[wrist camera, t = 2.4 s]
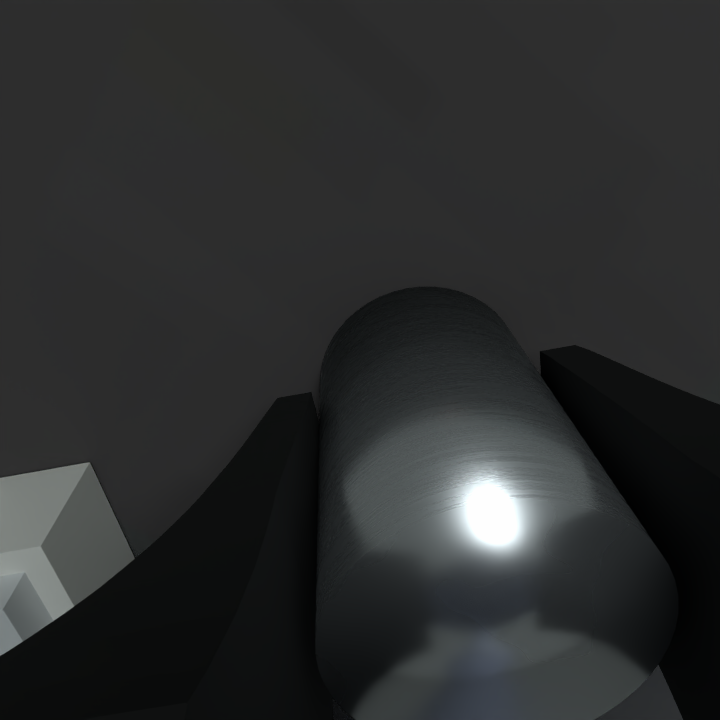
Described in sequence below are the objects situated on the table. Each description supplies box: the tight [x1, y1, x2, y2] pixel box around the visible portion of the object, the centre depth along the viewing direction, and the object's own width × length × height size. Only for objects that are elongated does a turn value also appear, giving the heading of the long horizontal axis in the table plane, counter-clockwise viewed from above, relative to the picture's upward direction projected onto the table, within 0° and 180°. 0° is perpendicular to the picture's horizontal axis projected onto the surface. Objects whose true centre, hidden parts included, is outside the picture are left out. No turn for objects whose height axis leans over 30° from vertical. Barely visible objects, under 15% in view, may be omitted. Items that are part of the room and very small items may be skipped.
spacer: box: [315, 287, 678, 720], centre depth 9 cm, size 4×4×6 cm
